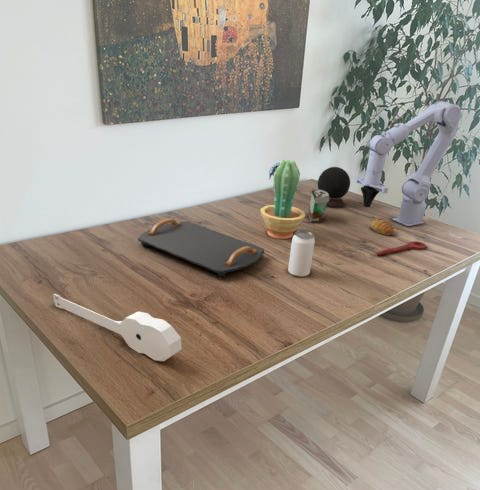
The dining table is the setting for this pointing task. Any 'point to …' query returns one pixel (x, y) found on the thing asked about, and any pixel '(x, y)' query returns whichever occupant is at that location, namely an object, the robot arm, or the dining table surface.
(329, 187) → the black ball on stand
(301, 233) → the can
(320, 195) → the food container
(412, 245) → the spoon
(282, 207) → the potted cactus
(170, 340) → the white toy guitar
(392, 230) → the pastry
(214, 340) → the dining table surface
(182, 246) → the serving tray
